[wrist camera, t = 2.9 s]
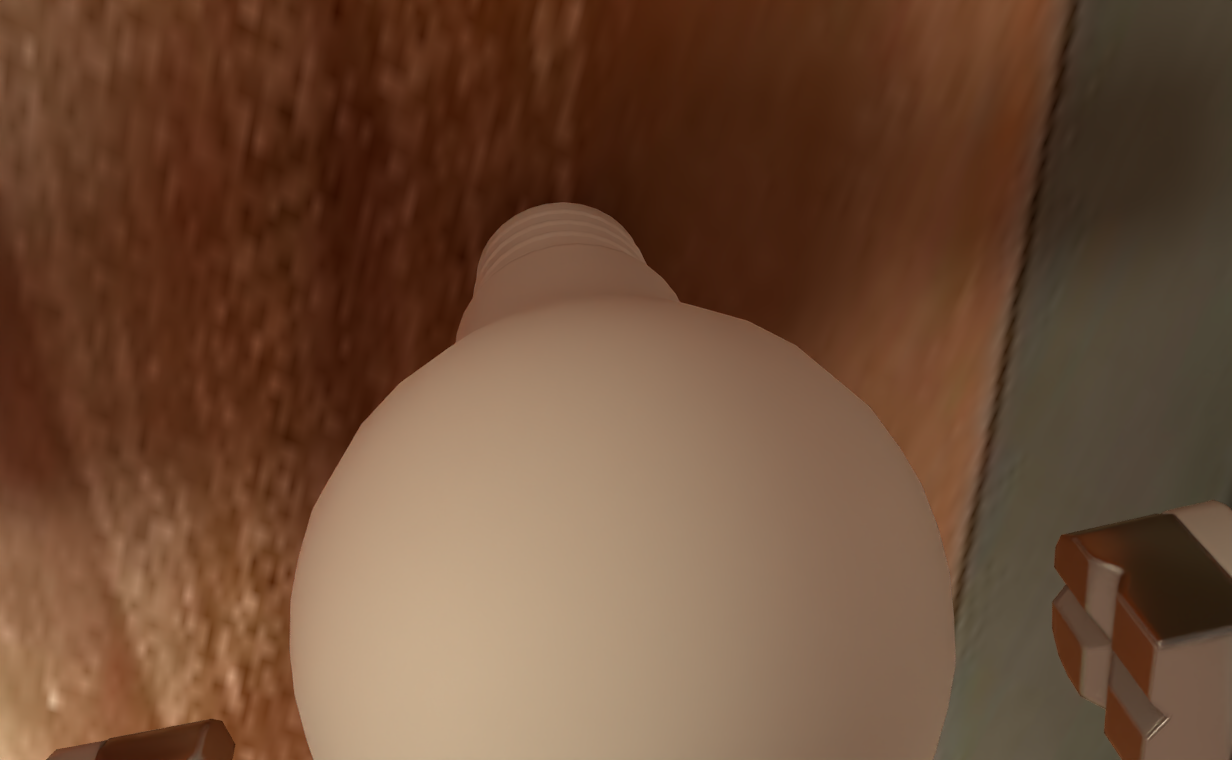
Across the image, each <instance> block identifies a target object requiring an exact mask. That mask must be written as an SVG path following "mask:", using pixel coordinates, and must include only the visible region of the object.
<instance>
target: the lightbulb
mask: <svg viewBox="0 0 1232 760" xmlns="http://www.w3.org/2000/svg"><path fill="white" fill-rule="evenodd" d="M290 658H291V667H292V676H293V684H294V693H295V698H296V702H297V706H298V710H299V713H300V717H301V721H302V725H303V729H304V732H305V736H306V740H307V743H308V746H309V749H310V752H311V754H312V757H313V760H932V759H933V757H934V755H935V752H936V748H937V745H938V741H939V738H940V734H941V731H942V727H943V724H944V720H945V717H946V713H947V710H948V705H949V699H950V693H951V688H952V682H953V676H954V670H955V633H954V612H953V602H952V591H951V581H950V572H949V568H948V564H947V560H946V556H945V552H944V548H943V544H942V540H941V536H940V532H939V528H938V526H937V523H936V521H935V518H934V516H933V513H932V510H931V508H930V505H929V503H928V500H927V497H926V495H925V492H924V490H923V487H922V484H921V482H920V481H919V479H918V477H917V476H916V474H915V472H914V471H913V469H912V467H911V465H910V464H909V462H908V460H907V459H906V457H905V455H904V454H903V452H902V450H901V448H900V447H899V446H898V444H897V443H896V442H895V440H894V439H893V438H892V436H891V435H890V433H889V432H888V431H887V429H886V428H885V427H884V425H883V424H882V423H881V421H880V420H879V418H878V417H877V416H876V414H875V413H874V412H873V410H872V409H871V408H870V407H869V406H868V405H867V404H866V403H865V402H864V401H862V400H861V399H860V398H859V397H858V396H856V395H855V394H854V393H853V392H852V391H850V390H849V389H848V388H847V387H846V386H844V385H843V384H842V383H841V382H840V381H838V380H837V379H836V378H835V377H834V376H832V375H831V374H830V373H829V372H828V371H826V370H825V369H824V368H823V367H822V366H820V365H819V364H818V363H817V362H816V361H814V360H813V359H812V358H811V357H810V356H808V355H807V354H806V353H805V352H804V351H802V350H801V349H800V348H799V347H798V346H796V345H794V344H792V343H790V342H788V341H786V340H785V339H783V338H781V337H779V336H777V335H775V334H773V333H771V332H769V331H767V330H765V329H763V328H761V327H759V326H757V325H755V324H753V323H751V322H749V321H747V320H744V319H740V318H736V317H733V316H729V315H726V314H722V313H719V312H715V311H711V310H708V309H704V308H701V307H697V306H694V305H690V304H685V303H681V302H680V301H679V299H678V297H677V295H676V294H675V292H674V291H673V290H672V289H671V288H670V286H669V285H668V284H667V283H666V281H665V280H664V279H663V278H662V277H661V276H660V275H659V274H657V273H656V272H655V271H654V270H652V269H651V268H650V267H649V266H647V264H646V262H645V260H644V258H643V256H642V254H641V252H640V250H639V248H638V247H637V246H636V245H635V243H634V241H633V239H632V237H631V236H630V235H629V233H628V232H627V231H626V230H625V228H624V227H623V226H622V225H621V224H619V223H618V222H617V221H616V220H615V219H613V218H612V217H611V216H609V215H607V214H605V213H603V212H602V211H600V210H598V209H595V208H592V207H589V206H585V205H582V204H576V203H566V202H561V203H548V204H543V205H540V206H536V207H532V208H529V209H527V210H525V211H523V212H521V213H519V214H517V215H515V216H513V217H512V218H511V219H509V220H508V221H507V222H505V223H504V224H503V225H501V227H500V228H499V229H498V230H497V231H496V232H495V233H494V234H493V235H492V236H491V238H490V239H489V241H488V243H487V244H486V246H485V248H484V249H483V251H482V254H481V257H480V260H479V263H478V268H477V277H476V283H475V286H474V293H473V298H472V300H471V302H470V303H469V305H468V307H467V308H466V310H465V312H464V313H463V316H462V319H461V322H460V325H459V328H458V331H457V335H456V343H455V344H454V345H452V346H451V347H449V348H448V349H446V350H445V351H443V352H442V353H441V354H439V355H438V356H437V357H435V358H434V359H432V360H431V361H430V362H428V363H427V364H425V365H424V366H423V367H421V368H420V369H418V370H417V371H416V372H414V373H413V374H412V375H410V376H409V377H407V378H406V379H405V380H403V381H402V382H400V383H399V384H398V385H397V386H396V387H395V389H394V390H393V391H392V392H391V393H390V394H389V395H388V396H387V397H386V398H385V399H384V400H383V401H382V403H381V404H380V405H379V406H378V407H377V408H376V409H375V410H374V411H373V412H372V413H371V414H370V415H369V417H368V418H367V419H366V420H365V421H364V422H363V423H362V424H361V426H360V427H359V429H358V431H357V433H356V434H355V436H354V438H353V439H352V441H351V443H350V445H349V446H348V448H347V450H346V451H345V453H344V455H343V457H342V458H341V460H340V462H339V463H338V465H337V467H336V468H335V470H334V472H333V474H332V476H331V477H330V479H329V481H328V483H327V484H326V486H325V488H324V490H323V491H322V493H321V495H320V497H319V498H318V500H317V502H316V504H315V505H314V507H313V509H312V512H311V516H310V519H309V523H308V526H307V529H306V533H305V536H304V540H303V543H302V546H301V550H300V553H299V557H298V561H297V566H296V572H295V578H294V584H293V589H292V595H291V603H290Z"/></svg>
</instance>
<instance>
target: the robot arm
mask: <svg viewBox="0 0 1232 760" xmlns="http://www.w3.org/2000/svg"><path fill="white" fill-rule="evenodd" d="M1054 567H1055V569H1056V570H1057V572H1058V573H1059V575H1060V576H1061V577H1062V579H1063V580H1064V582H1065V583H1066V585H1065V586H1064V588H1063V589H1062V590H1061V591H1060V593H1059V594H1058V595H1057V597H1056V598H1055V599H1054V600H1053V602H1052V629H1053V633H1054V638H1055V642H1056V646H1057V650H1058V655H1059V657H1060V659H1061V662H1062V664H1063V666H1064V668H1065V671H1066V673H1067V675H1068V677H1069V678H1070V680H1071V682H1072V683H1073V685H1074V686H1075V688H1076V690H1077V691H1078V693H1079V694H1080V696H1081V697H1083V698H1085V699H1087V700H1089V701H1090V702H1092V703H1094V704H1096V705H1098V706H1100V707H1102V708H1104V709H1106V715H1105V728H1104V733H1105V735H1106V736H1107V738H1108V739H1109V741H1110V742H1111V744H1112V745H1113V747H1114V748H1115V750H1116V751H1117V753H1118V754H1119V756H1120V757H1121V759H1122V760H1232V510H1231V509H1230V508H1229V507H1228V506H1227V505H1225V504H1223V503H1220V502H1218V501H1216V500H1212V501H1207V502H1203V503H1199V504H1194V505H1190V506H1185V507H1181V508H1177V509H1172V510H1168V511H1164V512H1162V513H1161V514H1152V515H1148V516H1143V517H1139V518H1134V519H1130V520H1125V521H1121V522H1117V523H1112V524H1108V525H1103V526H1099V527H1094V528H1090V529H1086V530H1081V531H1077V532H1072V533H1068V534H1063V535H1061V537H1060V539H1059V541H1058V543H1057V545H1056V548H1055V563H1054ZM234 749H235V743H234V741H233V739H232V738H231V736H230V734H229V732H228V730H227V729H226V727H225V725H224V723H223V721H220V720H215V719H208V720H203V721H198V722H192V723H187V724H182V725H177V726H171V727H166V728H161V729H156V730H150V731H145V732H140V733H135V734H129V735H124V736H119V737H114V738H109V739H108V740H105V741H100V742H94V743H89V744H83V745H78V746H72V747H67V748H62V749H56V750H55V751H54V752H53V753H52V754H51V755H50V756H49V757H48V758H47V759H46V760H232V759H233V754H234Z"/></svg>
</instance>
